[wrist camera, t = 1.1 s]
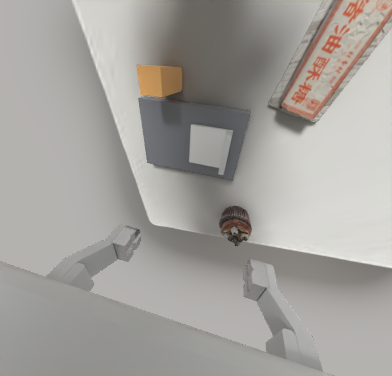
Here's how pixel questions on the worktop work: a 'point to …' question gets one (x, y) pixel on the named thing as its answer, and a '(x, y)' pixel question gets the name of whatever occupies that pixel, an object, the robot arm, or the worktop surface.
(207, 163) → the shutter
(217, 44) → the worktop surface
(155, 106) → the socket plate
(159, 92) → the orange block
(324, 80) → the packaged product
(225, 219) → the cupcake
